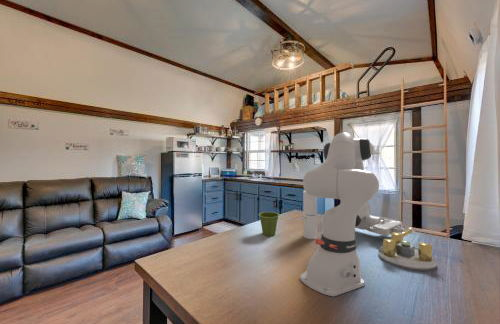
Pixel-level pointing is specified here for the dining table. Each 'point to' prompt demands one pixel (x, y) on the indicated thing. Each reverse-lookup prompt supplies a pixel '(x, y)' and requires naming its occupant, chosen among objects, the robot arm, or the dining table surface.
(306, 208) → the cylindrical container
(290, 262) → the dining table surface
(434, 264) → the tribrach
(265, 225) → the plant pot
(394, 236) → the brass lever handle
